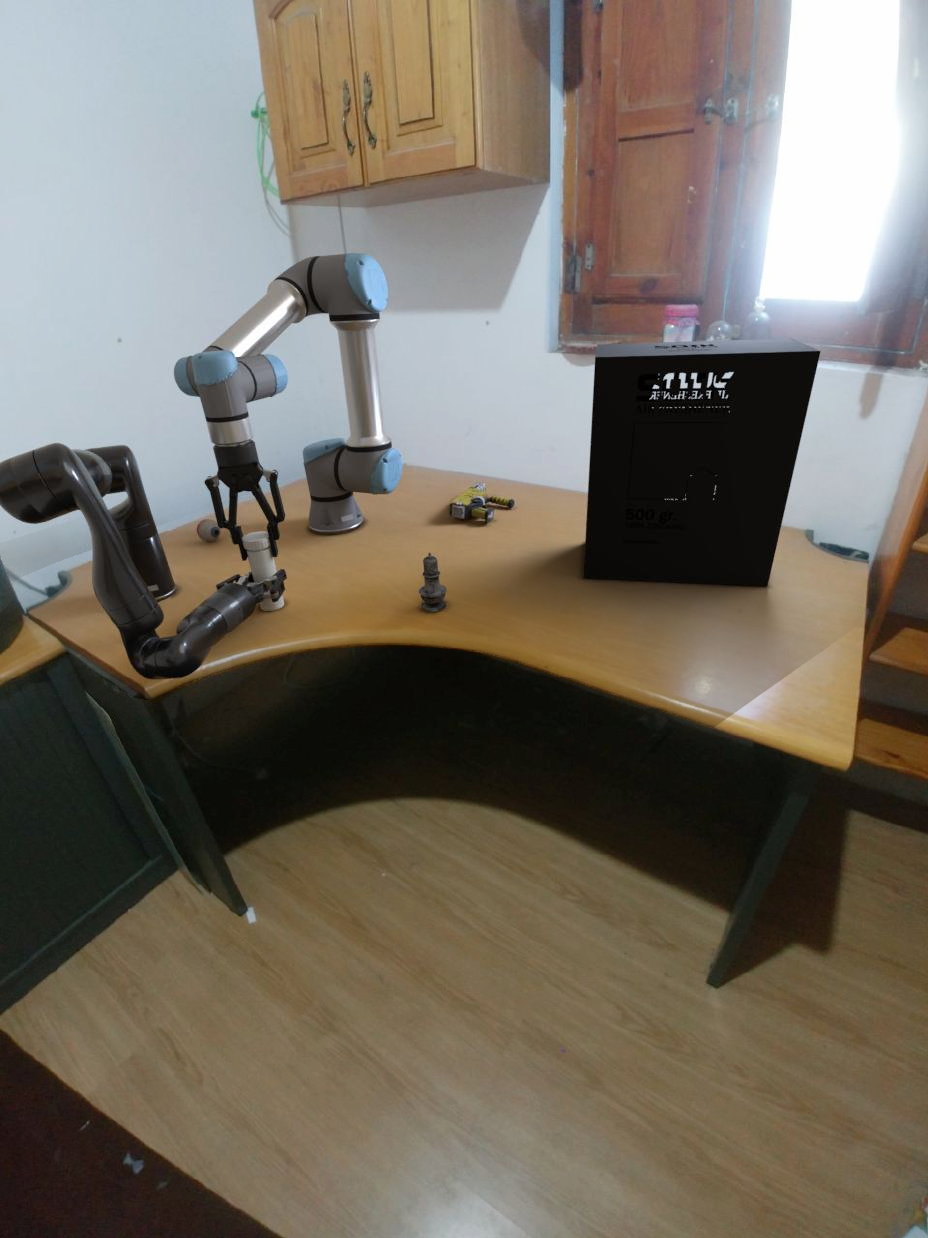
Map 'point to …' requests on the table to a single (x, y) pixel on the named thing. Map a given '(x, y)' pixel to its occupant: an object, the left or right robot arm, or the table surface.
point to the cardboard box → (693, 458)
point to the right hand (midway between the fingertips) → (260, 556)
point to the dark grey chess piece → (432, 586)
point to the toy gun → (476, 504)
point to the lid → (256, 540)
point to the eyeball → (208, 530)
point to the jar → (264, 573)
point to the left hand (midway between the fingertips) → (272, 572)
